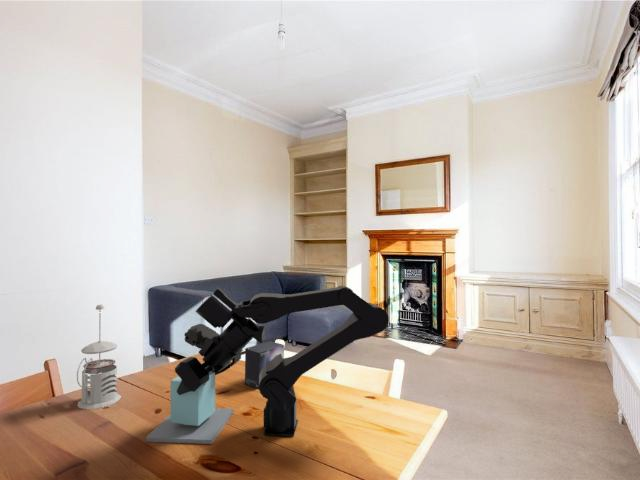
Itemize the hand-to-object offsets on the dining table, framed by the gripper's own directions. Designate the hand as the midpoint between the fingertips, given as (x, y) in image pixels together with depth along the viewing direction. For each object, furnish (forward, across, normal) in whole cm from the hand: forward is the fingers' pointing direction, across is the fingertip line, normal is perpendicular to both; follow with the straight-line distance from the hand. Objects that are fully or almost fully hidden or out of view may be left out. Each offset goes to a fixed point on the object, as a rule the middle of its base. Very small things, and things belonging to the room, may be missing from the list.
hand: (188, 386), depth 81 cm
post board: (+5, 0, +7) cm, 9 cm away
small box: (+2, -28, +11) cm, 30 cm away
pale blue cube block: (+4, 0, +6) cm, 7 cm away
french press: (+27, -5, -15) cm, 32 cm away
